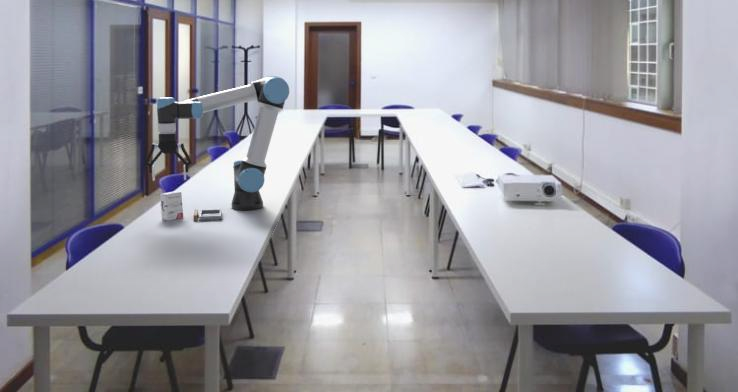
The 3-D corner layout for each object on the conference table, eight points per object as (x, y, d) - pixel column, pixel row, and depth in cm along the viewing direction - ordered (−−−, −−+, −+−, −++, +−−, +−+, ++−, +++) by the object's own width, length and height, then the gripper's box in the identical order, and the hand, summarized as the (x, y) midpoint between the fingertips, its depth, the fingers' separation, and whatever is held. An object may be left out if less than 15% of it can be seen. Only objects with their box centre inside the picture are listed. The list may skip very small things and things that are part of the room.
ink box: (177, 215, 326) (175, 190, 324) (183, 217, 323) (182, 191, 321) (160, 219, 320) (159, 193, 317) (167, 220, 317) (166, 194, 314)
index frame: (221, 213, 331) (221, 209, 331) (221, 219, 318) (221, 215, 318) (200, 214, 329) (200, 210, 329) (199, 221, 316) (199, 216, 316)
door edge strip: (198, 214, 328) (198, 209, 328) (197, 220, 317) (196, 215, 316) (195, 214, 328) (194, 209, 328) (193, 220, 317) (193, 215, 316)
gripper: (196, 131, 320) (198, 177, 324) (138, 132, 315) (141, 179, 319) (195, 133, 312) (197, 180, 317) (136, 134, 308) (139, 182, 312)
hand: (169, 180), depth 318 cm, fingers open, 13 cm apart
